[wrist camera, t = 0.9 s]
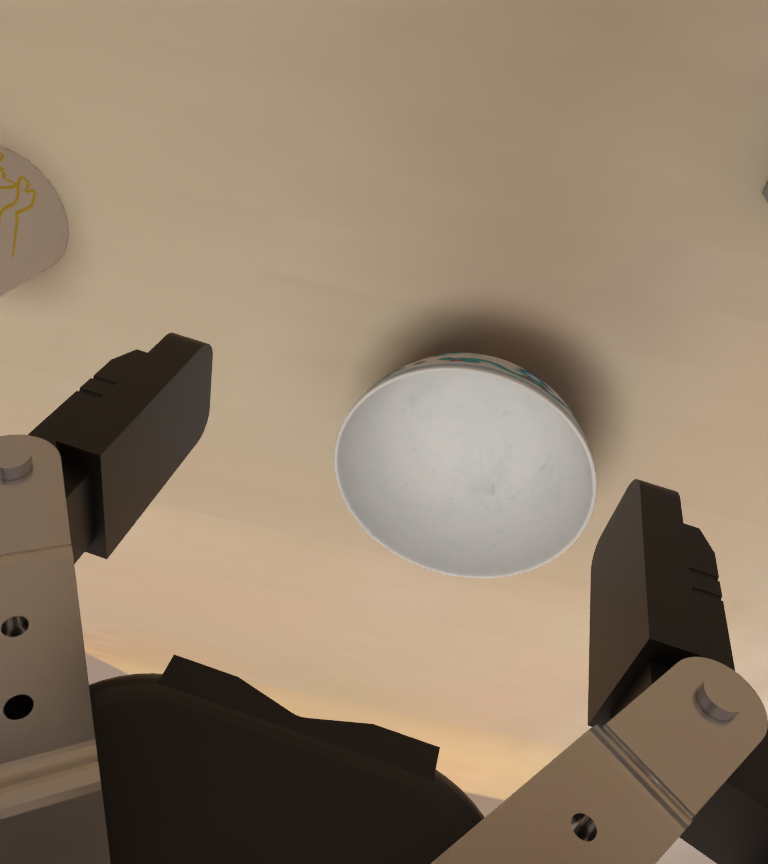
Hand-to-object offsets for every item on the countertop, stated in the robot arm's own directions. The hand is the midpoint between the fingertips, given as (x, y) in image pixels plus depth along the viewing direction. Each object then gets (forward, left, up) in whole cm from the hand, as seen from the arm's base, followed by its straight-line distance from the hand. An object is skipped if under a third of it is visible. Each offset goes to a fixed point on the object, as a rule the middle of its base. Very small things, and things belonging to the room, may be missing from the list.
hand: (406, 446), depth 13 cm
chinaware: (+18, +2, -29) cm, 34 cm away
